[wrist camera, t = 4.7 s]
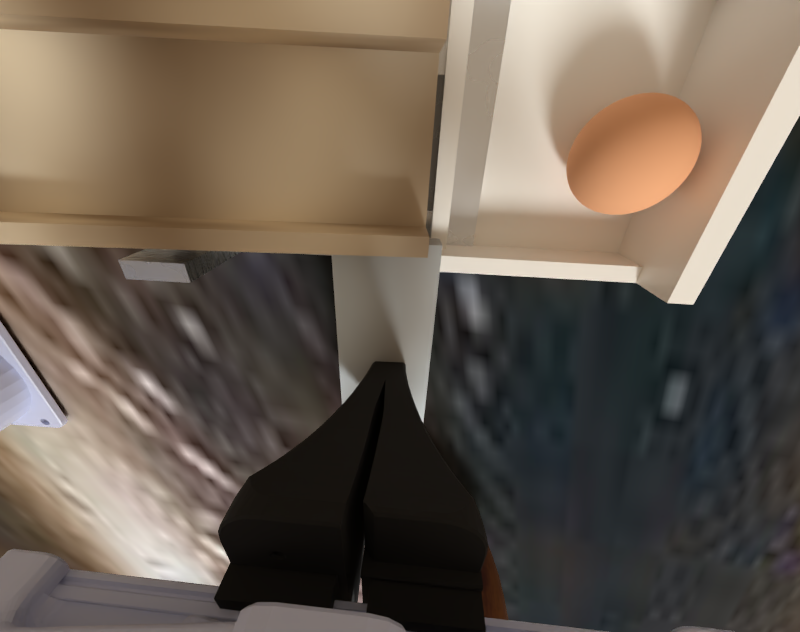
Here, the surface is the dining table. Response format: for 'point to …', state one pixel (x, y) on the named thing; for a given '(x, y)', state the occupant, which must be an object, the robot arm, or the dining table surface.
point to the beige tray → (236, 144)
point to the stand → (470, 158)
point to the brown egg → (634, 153)
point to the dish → (595, 90)
